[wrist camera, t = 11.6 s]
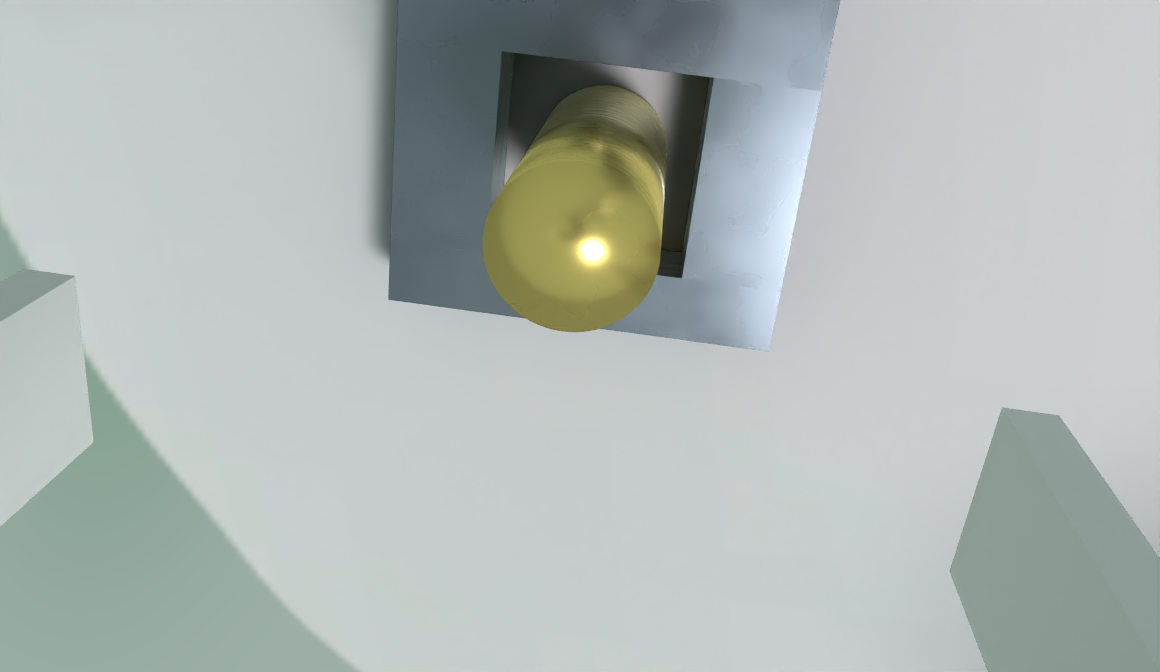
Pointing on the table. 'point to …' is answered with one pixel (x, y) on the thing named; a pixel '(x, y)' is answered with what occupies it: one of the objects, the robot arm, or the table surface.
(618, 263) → the round pin
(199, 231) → the table surface
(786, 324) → the table surface
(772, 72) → the gray peg plate
